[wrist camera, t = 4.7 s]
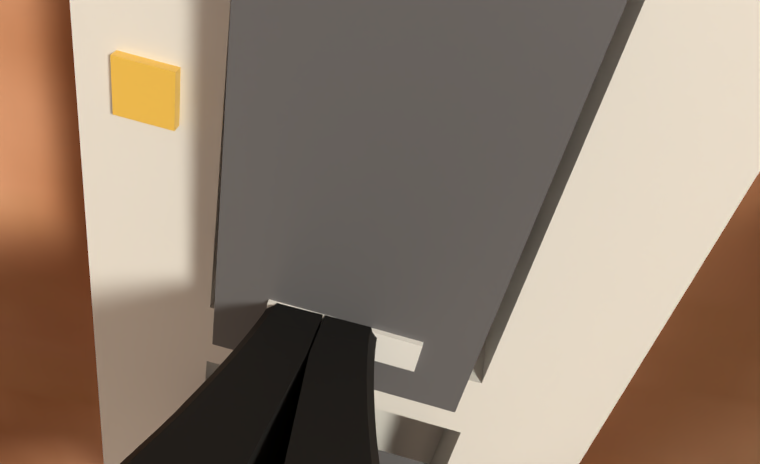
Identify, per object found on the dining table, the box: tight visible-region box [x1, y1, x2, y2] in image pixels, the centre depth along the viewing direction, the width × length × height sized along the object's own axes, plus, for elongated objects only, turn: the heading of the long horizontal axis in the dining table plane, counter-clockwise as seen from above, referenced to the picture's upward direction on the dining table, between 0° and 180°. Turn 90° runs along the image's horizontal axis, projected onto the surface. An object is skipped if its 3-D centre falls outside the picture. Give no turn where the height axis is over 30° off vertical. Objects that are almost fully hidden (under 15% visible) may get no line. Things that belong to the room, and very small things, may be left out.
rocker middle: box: [212, 0, 628, 412], centre depth 8 cm, size 3×6×2 cm, turn 169°
